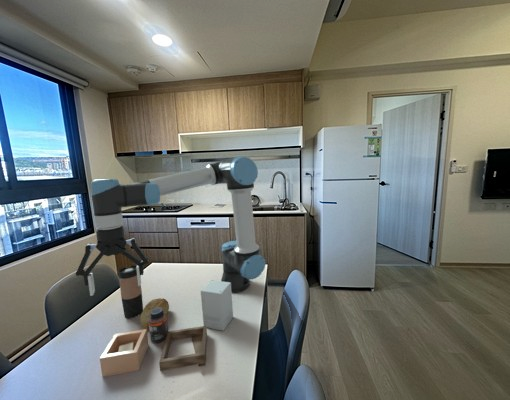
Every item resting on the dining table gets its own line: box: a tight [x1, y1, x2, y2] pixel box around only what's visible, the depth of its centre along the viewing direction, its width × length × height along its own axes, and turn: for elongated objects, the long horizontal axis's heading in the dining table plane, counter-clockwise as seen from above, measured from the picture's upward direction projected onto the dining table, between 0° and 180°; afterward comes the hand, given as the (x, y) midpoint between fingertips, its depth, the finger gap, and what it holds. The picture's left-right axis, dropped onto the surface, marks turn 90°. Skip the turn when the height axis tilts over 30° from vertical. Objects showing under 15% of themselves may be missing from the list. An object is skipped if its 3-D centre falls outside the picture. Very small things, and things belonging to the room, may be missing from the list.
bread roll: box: [139, 297, 170, 331], centre depth 91 cm, size 10×15×8 cm, turn 4°
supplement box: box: [200, 279, 234, 331], centre depth 88 cm, size 9×9×15 cm
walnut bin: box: [158, 325, 208, 371], centre depth 74 cm, size 13×13×4 cm
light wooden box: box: [99, 329, 149, 378], centre depth 71 cm, size 10×10×7 cm
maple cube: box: [118, 342, 134, 352], centre depth 71 cm, size 4×4×4 cm
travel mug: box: [117, 264, 144, 319], centre depth 96 cm, size 8×8×20 cm
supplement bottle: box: [149, 307, 169, 345], centre depth 80 cm, size 6×6×11 cm
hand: (117, 288), depth 75 cm, fingers open, 13 cm apart
